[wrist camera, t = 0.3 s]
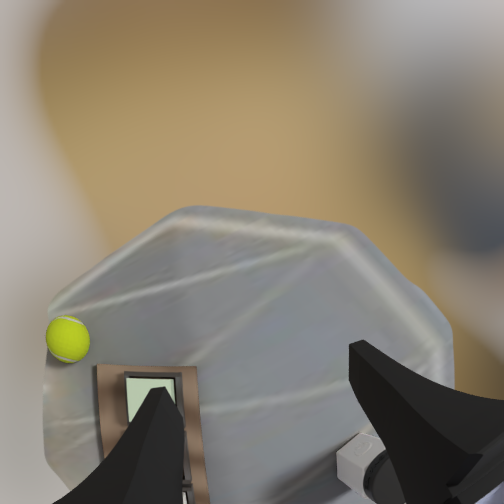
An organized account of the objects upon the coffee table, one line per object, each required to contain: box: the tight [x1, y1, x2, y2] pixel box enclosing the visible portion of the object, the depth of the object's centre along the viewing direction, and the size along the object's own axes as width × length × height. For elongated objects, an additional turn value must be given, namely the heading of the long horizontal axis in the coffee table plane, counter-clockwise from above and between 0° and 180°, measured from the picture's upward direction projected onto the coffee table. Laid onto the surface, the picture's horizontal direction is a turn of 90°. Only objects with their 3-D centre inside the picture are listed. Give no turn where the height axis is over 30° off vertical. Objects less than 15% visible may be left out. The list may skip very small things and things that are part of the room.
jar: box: [336, 432, 406, 504], centre depth 27 cm, size 9×8×12 cm
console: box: [97, 364, 210, 504], centre depth 30 cm, size 25×14×3 cm, turn 5°
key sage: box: [126, 378, 175, 422], centre depth 31 cm, size 6×6×2 cm
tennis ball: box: [46, 315, 90, 363], centre depth 33 cm, size 7×7×7 cm
